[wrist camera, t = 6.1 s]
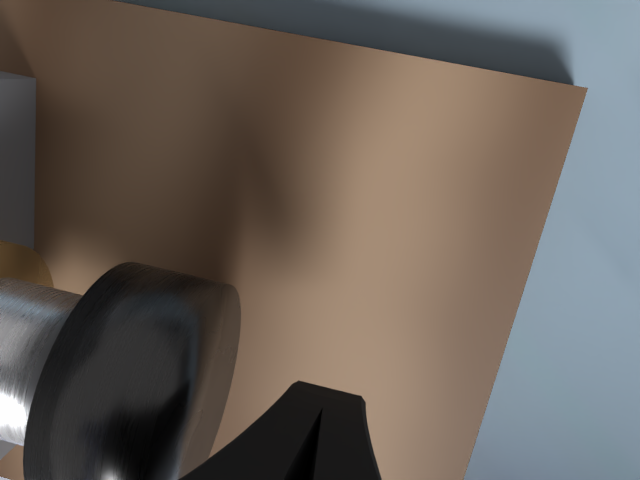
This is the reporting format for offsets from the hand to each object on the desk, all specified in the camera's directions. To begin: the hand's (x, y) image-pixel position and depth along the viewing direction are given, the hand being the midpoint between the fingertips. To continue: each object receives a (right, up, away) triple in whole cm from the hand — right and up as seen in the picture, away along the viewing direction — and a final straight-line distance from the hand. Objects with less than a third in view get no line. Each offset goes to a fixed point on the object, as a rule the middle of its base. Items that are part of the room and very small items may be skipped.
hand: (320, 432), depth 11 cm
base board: (-8, +3, +5) cm, 10 cm away
